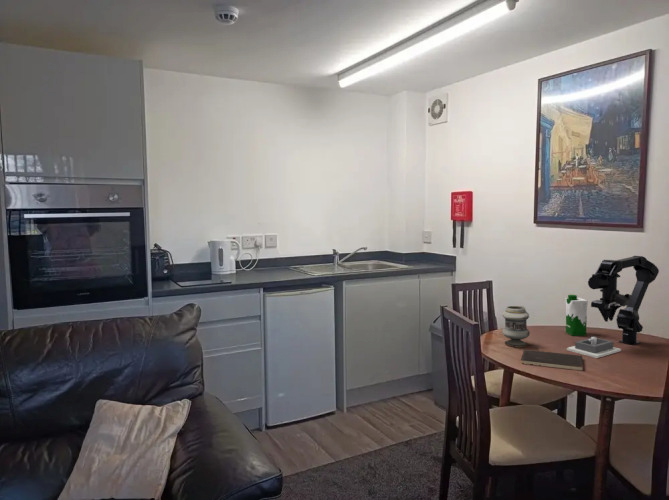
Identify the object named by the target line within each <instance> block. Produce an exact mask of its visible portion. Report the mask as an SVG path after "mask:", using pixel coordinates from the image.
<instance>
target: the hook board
mask: <svg viewBox="0 0 669 500" xmlns="http://www.w3.org/2000/svg"><path fill="white" fill-rule="evenodd" d="M590 338H591V339H589V338H588V339H589V340H588V341H589V342H591V345H597V338H598V337H597V336H590ZM566 351H569V352H573V353H577V354H580V355H582V356H583V355H585V356H587V357H591V358H595V359H598V358H602V357H606V356H608V355H612V354H616V353H619V352H621V351H622V348H619V347H614V346H613V348H612V349H609V350H605V351H602V352H598V353H591V352H587V351H583V350H579V349H576V348H575V345H572V346H569V347H567V348H566Z"/></svg>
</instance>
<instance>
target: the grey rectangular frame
mask: <svg viewBox="0 0 669 500" xmlns="http://www.w3.org/2000/svg"><path fill="white" fill-rule="evenodd" d="M589 339H591V337H589V338H586V339H581V340H578V341H575V345H574V346H575V348H576V349H579V350H583V351H587V352H591V353H598V352H602V351H605V350H609V349H612V348H613V347H614V341H613V340H608V339H603V338H599V337H597V345H591V342H589V341H588V340H589Z"/></svg>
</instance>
